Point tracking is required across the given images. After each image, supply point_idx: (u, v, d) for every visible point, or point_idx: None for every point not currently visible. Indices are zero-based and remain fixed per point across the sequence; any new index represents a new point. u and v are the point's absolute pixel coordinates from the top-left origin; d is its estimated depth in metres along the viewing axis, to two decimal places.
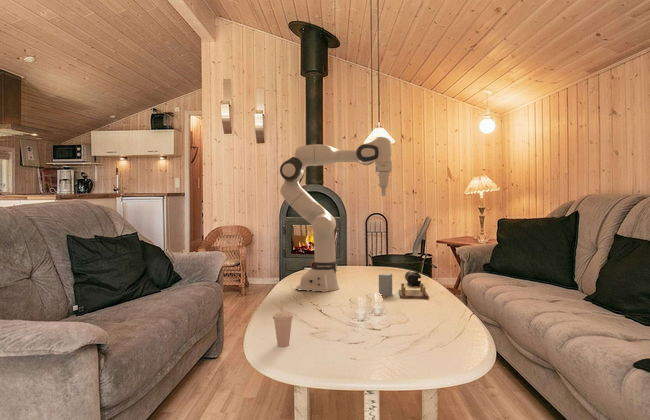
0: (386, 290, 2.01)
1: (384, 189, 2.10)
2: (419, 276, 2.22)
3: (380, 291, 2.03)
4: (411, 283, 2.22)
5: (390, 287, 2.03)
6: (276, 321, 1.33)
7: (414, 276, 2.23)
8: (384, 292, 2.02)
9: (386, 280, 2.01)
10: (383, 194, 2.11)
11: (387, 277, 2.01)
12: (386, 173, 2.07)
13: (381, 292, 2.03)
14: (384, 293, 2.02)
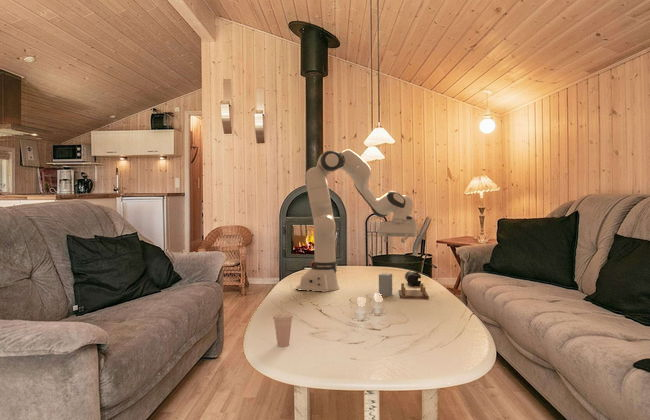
0: (386, 290, 2.01)
1: (407, 237, 2.13)
2: (419, 276, 2.22)
3: (380, 291, 2.03)
4: (411, 283, 2.22)
5: (390, 287, 2.03)
6: (276, 321, 1.33)
7: (414, 276, 2.23)
8: (384, 292, 2.02)
9: (386, 280, 2.01)
10: (404, 240, 2.12)
11: (387, 277, 2.01)
12: (416, 227, 2.17)
13: (381, 292, 2.03)
14: (384, 293, 2.02)
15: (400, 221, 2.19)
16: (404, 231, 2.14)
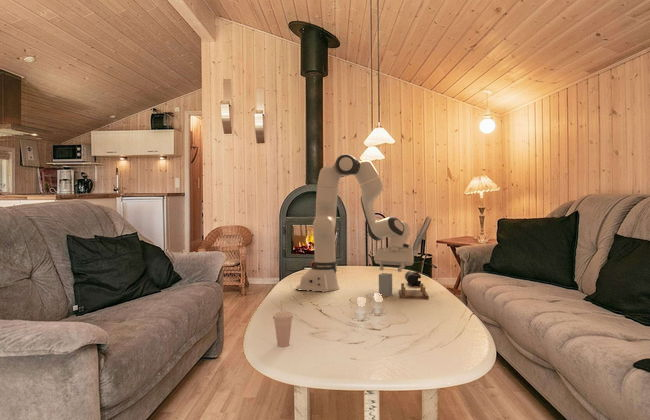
0: (386, 290, 2.01)
1: (404, 266, 2.09)
2: (419, 276, 2.22)
3: (380, 291, 2.03)
4: (411, 283, 2.22)
5: (390, 287, 2.03)
6: (276, 321, 1.33)
7: (414, 276, 2.23)
8: (384, 292, 2.02)
9: (386, 280, 2.01)
10: (401, 269, 2.07)
11: (387, 277, 2.01)
12: None
13: (381, 292, 2.03)
14: (384, 293, 2.02)
15: (397, 249, 2.14)
16: (401, 260, 2.09)
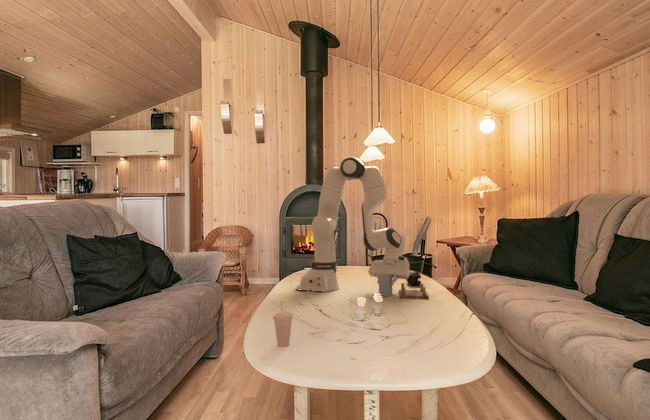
0: (386, 290, 2.01)
1: (396, 279, 2.03)
2: (419, 276, 2.22)
3: (380, 291, 2.03)
4: (411, 283, 2.22)
5: (390, 287, 2.03)
6: (276, 321, 1.33)
7: (414, 276, 2.23)
8: (384, 291, 2.02)
9: (386, 280, 2.01)
10: (393, 283, 2.02)
11: (387, 277, 2.01)
12: None
13: (381, 292, 2.03)
14: (384, 293, 2.02)
15: (392, 261, 2.08)
16: (396, 273, 2.03)
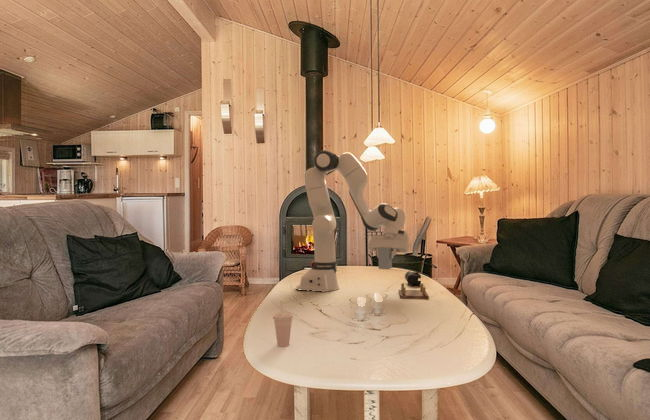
0: (386, 263, 2.01)
1: (396, 253, 2.03)
2: (419, 276, 2.22)
3: (380, 264, 2.03)
4: (411, 283, 2.22)
5: (390, 260, 2.03)
6: (276, 321, 1.33)
7: (414, 276, 2.23)
8: (384, 265, 2.02)
9: (385, 253, 2.01)
10: (392, 256, 2.02)
11: (387, 250, 2.01)
12: (408, 242, 2.06)
13: (381, 265, 2.02)
14: (384, 266, 2.02)
15: (391, 235, 2.08)
16: (395, 246, 2.03)
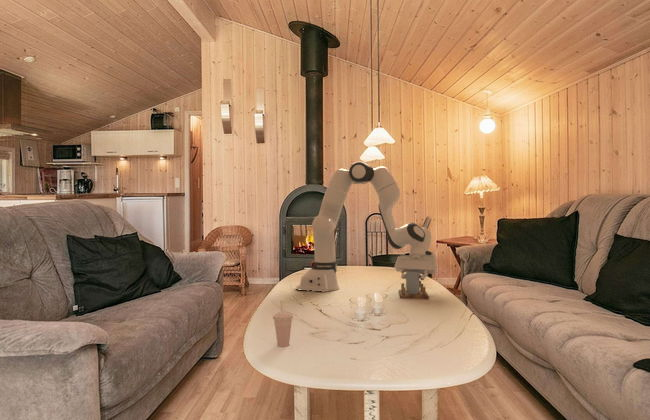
0: (414, 288, 1.99)
1: (426, 274, 2.01)
2: (419, 276, 2.22)
3: (407, 289, 2.01)
4: None
5: (418, 285, 2.01)
6: (276, 321, 1.33)
7: None
8: (412, 289, 2.00)
9: (413, 278, 1.99)
10: (423, 278, 1.99)
11: (415, 275, 1.99)
12: None
13: (408, 290, 2.00)
14: (412, 291, 2.00)
15: (419, 256, 2.06)
16: (423, 268, 2.01)
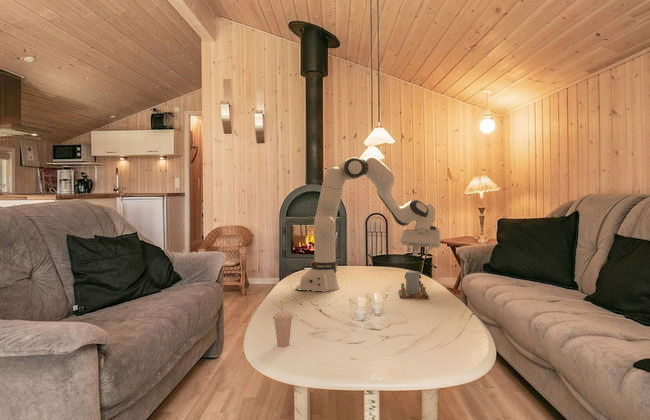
0: (414, 288, 1.99)
1: (431, 248, 2.12)
2: (419, 276, 2.22)
3: (407, 289, 2.01)
4: None
5: (418, 285, 2.01)
6: (276, 321, 1.33)
7: None
8: (412, 289, 2.00)
9: (413, 278, 1.99)
10: (428, 251, 2.11)
11: (415, 275, 1.99)
12: None
13: (408, 290, 2.00)
14: (412, 291, 2.00)
15: (423, 231, 2.17)
16: (428, 242, 2.13)
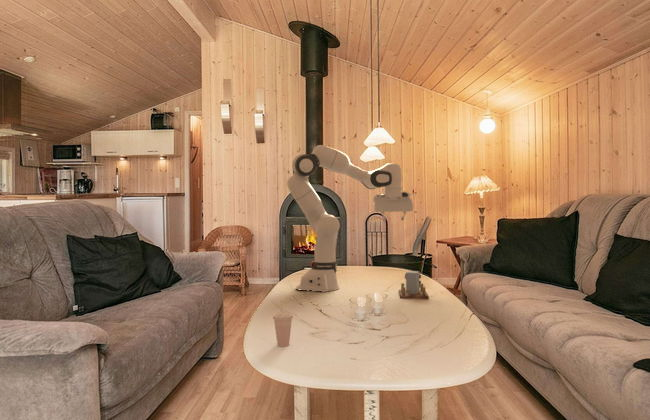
0: (414, 288, 1.99)
1: (405, 214, 2.23)
2: (419, 276, 2.22)
3: (407, 289, 2.01)
4: None
5: (418, 285, 2.01)
6: (276, 321, 1.33)
7: None
8: (412, 289, 2.00)
9: (413, 278, 1.99)
10: None
11: (415, 275, 1.99)
12: None
13: (408, 290, 2.00)
14: (412, 291, 2.00)
15: (396, 198, 2.21)
16: (402, 210, 2.21)
